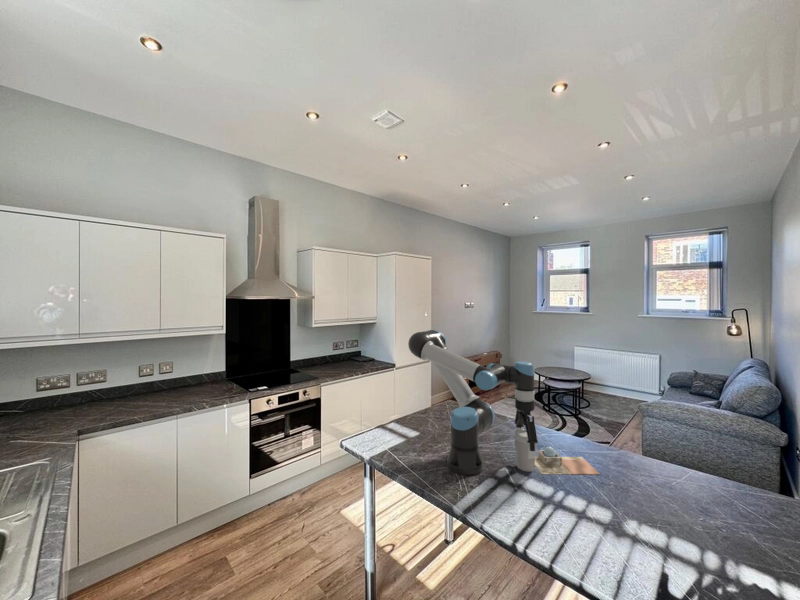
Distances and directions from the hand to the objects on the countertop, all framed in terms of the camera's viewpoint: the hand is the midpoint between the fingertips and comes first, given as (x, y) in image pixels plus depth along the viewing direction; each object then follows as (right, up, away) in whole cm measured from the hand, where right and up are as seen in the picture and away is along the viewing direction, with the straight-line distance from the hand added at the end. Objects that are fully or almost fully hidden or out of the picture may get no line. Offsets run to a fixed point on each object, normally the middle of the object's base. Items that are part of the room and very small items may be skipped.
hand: (525, 450), depth 131 cm
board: (+16, -8, +1) cm, 18 cm away
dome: (+12, -6, +4) cm, 14 cm away
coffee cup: (0, -8, 0) cm, 8 cm away
